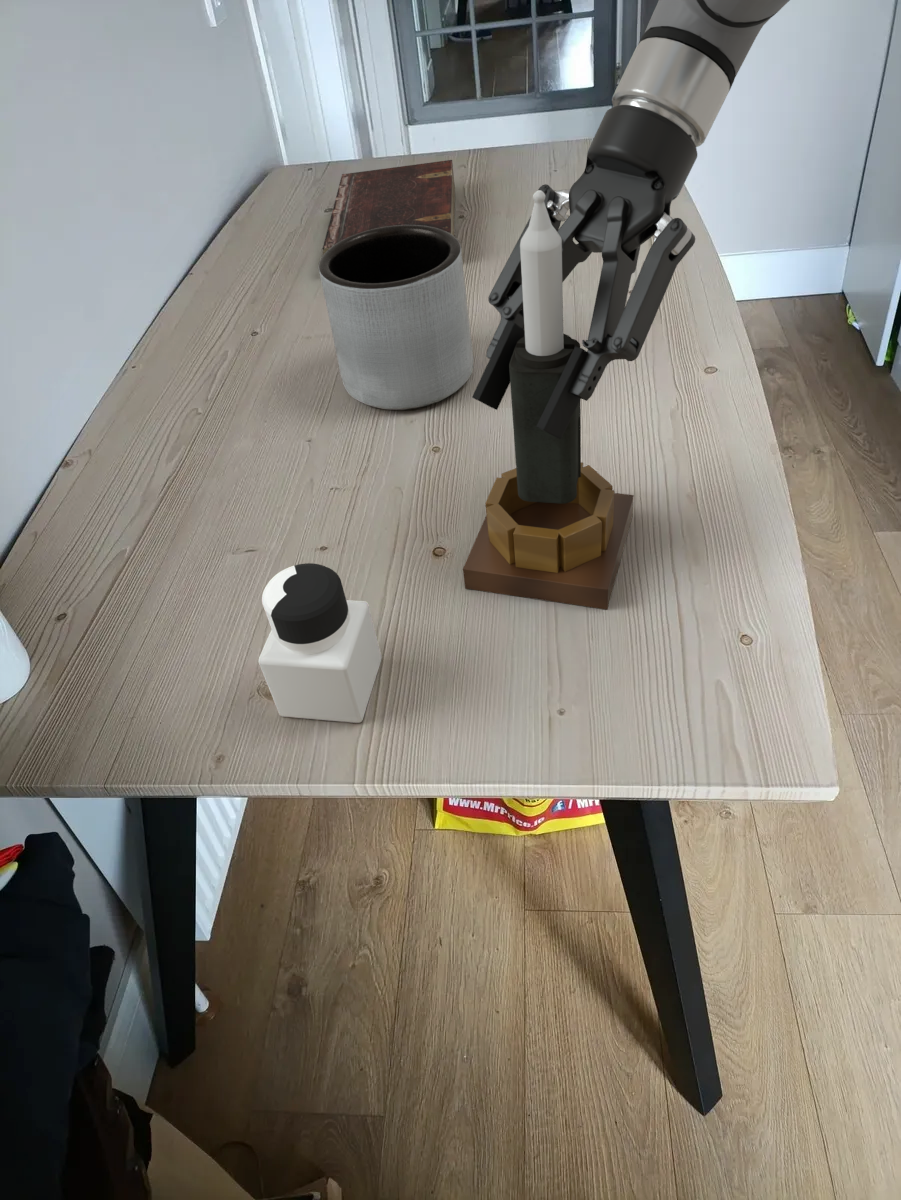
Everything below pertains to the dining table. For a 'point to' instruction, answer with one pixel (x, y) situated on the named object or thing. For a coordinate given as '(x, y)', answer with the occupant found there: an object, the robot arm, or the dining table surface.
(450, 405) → the dining table surface
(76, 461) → the dining table surface
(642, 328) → the robot arm
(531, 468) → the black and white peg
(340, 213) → the hardback book
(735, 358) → the dining table surface
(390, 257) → the planter
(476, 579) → the stand
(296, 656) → the medicine bottle
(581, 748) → the dining table surface
